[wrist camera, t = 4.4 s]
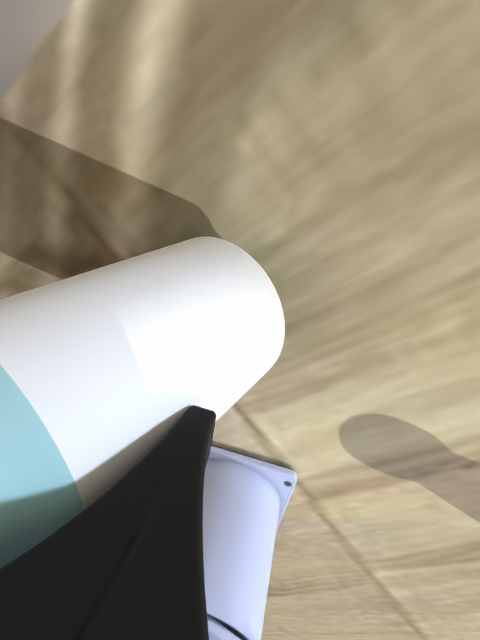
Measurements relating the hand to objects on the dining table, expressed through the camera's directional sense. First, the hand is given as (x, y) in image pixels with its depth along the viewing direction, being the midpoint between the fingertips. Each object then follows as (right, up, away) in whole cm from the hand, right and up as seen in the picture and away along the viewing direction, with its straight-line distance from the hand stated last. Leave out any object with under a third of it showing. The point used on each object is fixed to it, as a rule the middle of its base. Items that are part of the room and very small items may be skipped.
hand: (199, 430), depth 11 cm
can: (+1, +4, +7) cm, 8 cm away
